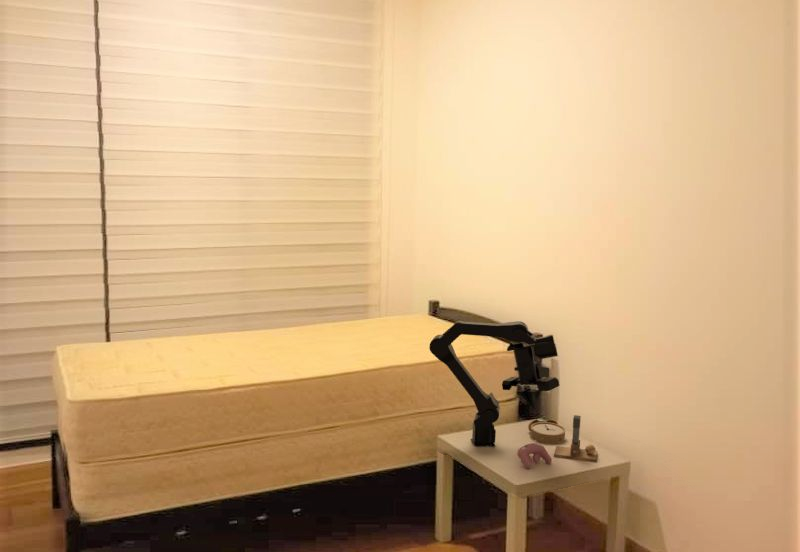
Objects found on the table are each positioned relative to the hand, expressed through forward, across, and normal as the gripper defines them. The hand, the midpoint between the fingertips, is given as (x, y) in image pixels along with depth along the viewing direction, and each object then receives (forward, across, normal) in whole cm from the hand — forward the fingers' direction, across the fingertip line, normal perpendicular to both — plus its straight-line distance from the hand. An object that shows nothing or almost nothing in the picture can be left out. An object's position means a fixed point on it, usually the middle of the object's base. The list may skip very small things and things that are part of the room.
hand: (535, 410), depth 233 cm
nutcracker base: (+15, -9, -3) cm, 18 cm away
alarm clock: (+13, +8, -11) cm, 19 cm away
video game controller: (+12, -6, +13) cm, 19 cm away
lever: (+13, -10, -4) cm, 16 cm away
